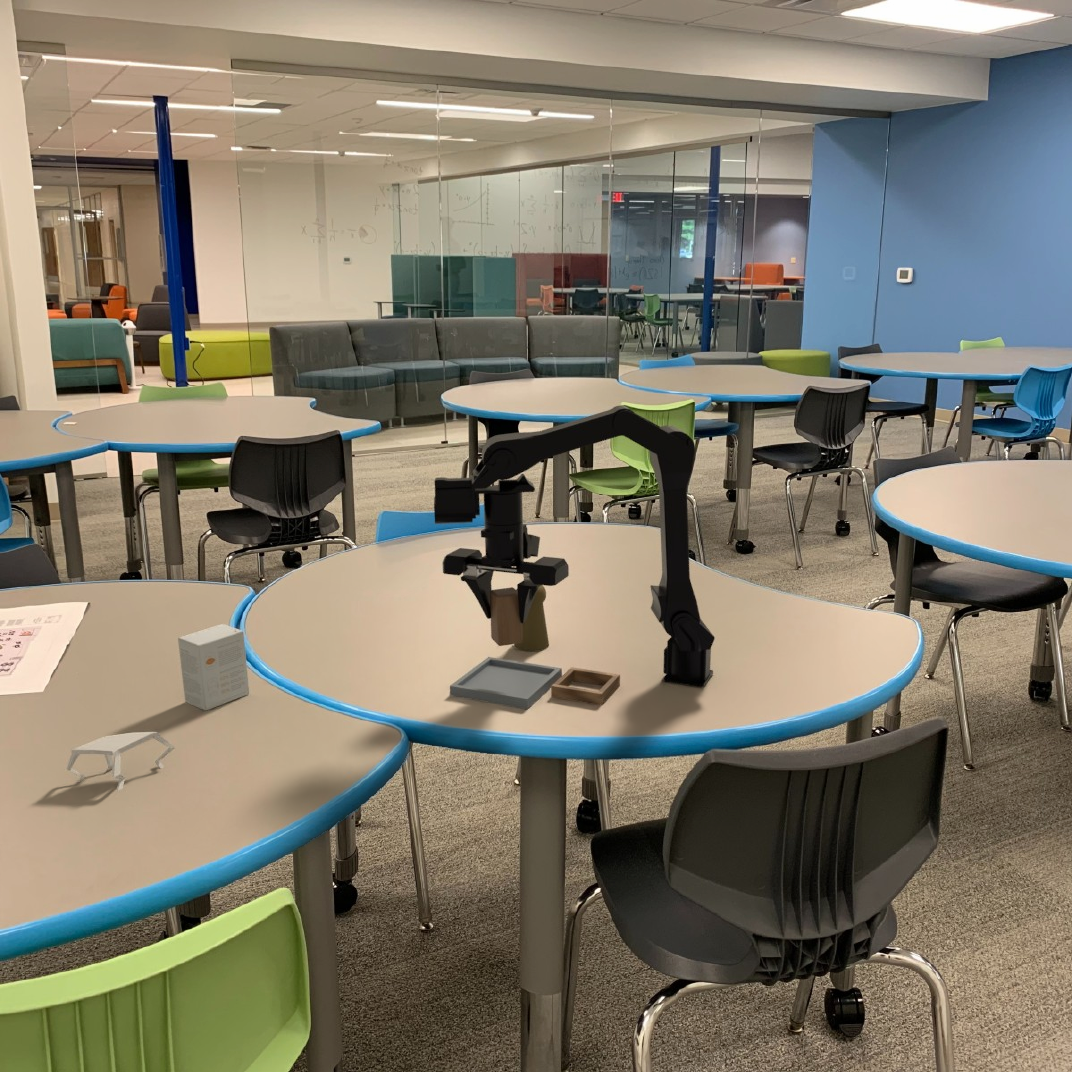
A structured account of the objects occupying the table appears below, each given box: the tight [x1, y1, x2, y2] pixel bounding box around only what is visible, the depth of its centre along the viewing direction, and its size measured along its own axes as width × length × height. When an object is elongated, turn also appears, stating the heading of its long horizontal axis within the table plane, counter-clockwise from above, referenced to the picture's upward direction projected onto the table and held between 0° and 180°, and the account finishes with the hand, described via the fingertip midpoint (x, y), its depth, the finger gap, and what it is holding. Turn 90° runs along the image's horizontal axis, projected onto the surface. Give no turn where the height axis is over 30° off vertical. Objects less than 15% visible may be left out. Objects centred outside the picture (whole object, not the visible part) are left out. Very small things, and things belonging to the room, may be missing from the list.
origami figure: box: [66, 731, 175, 791], centre depth 130 cm, size 12×8×5 cm
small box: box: [177, 623, 250, 711], centre depth 153 cm, size 8×6×10 cm
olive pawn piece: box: [513, 585, 550, 652], centre depth 173 cm, size 6×6×11 cm
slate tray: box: [449, 656, 563, 710], centre depth 157 cm, size 13×13×2 cm
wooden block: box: [490, 587, 523, 647], centre depth 154 cm, size 4×4×8 cm
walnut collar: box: [550, 666, 621, 706], centre depth 155 cm, size 8×8×2 cm
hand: (506, 620), depth 154 cm, fingers closed on wooden block, 5 cm apart
